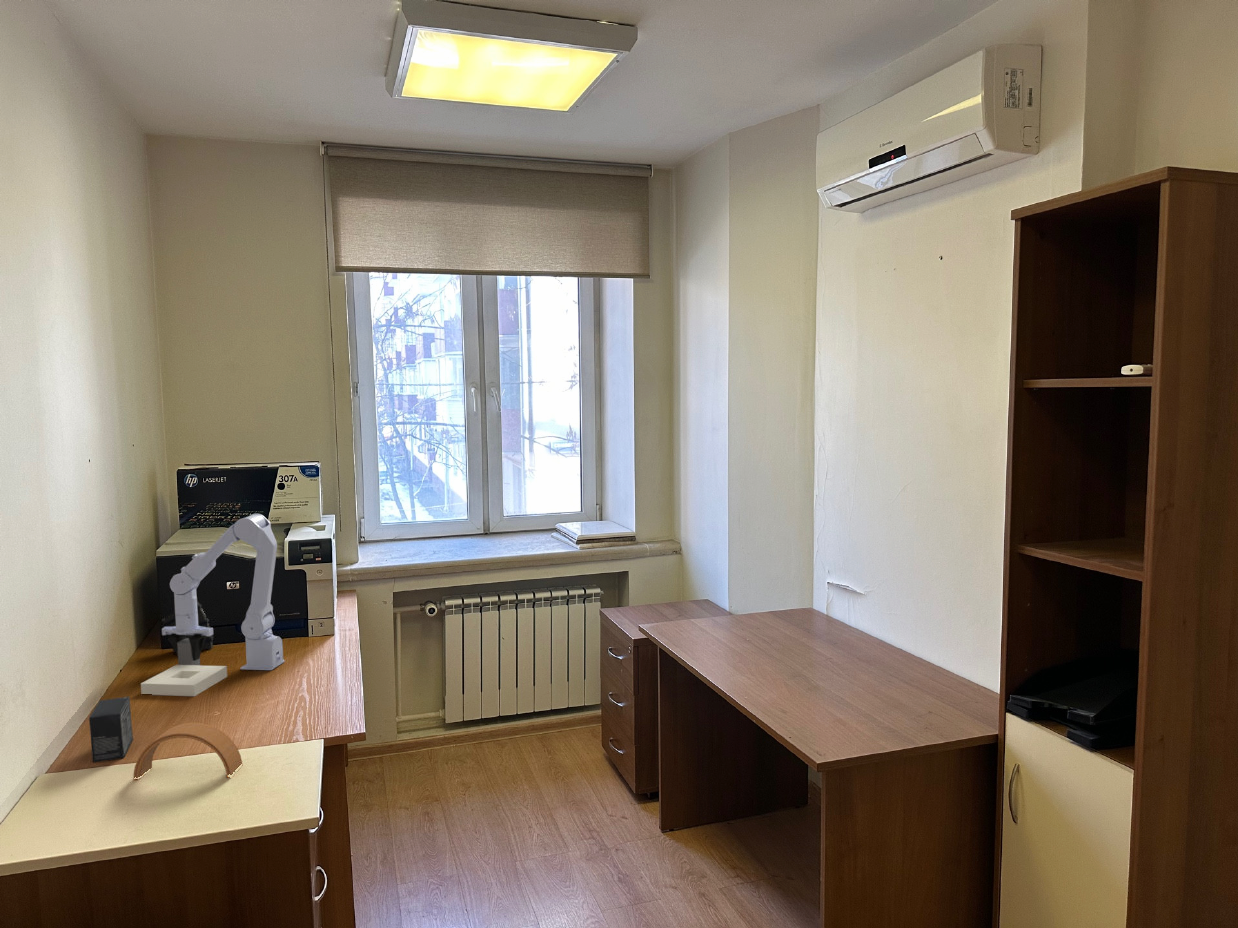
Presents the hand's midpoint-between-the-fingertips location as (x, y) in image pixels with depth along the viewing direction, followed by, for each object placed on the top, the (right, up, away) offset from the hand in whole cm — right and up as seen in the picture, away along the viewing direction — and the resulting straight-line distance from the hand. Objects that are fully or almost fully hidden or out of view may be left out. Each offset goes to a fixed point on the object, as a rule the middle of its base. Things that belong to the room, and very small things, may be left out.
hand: (189, 659), depth 243 cm
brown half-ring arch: (+34, -9, -67) cm, 75 cm away
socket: (+6, -4, -14) cm, 16 cm away
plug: (0, -2, 0) cm, 2 cm away
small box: (+11, -8, -56) cm, 57 cm away
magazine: (-8, -1, +16) cm, 18 cm away
